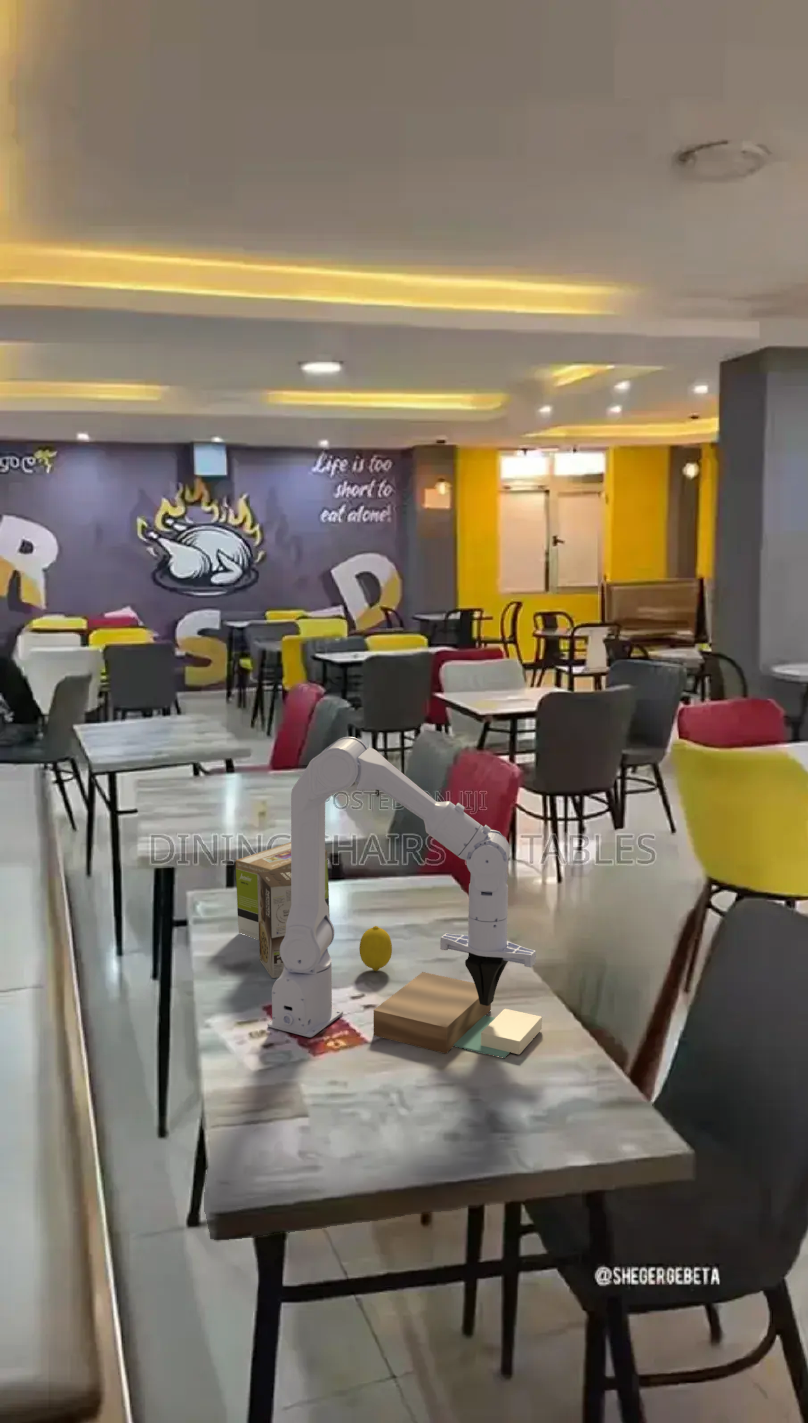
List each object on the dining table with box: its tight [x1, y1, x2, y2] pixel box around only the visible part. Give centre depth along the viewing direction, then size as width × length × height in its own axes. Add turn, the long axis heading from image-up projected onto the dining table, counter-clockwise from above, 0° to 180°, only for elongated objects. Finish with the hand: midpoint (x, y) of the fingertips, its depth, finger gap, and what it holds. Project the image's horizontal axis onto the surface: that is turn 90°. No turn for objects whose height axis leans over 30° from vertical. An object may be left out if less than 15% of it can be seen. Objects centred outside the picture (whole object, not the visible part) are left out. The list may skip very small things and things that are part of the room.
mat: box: [454, 1015, 511, 1059], centre depth 160 cm, size 11×8×1 cm
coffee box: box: [257, 868, 291, 979], centre depth 184 cm, size 9×6×16 cm
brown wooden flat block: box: [373, 971, 492, 1054], centre depth 164 cm, size 16×12×4 cm
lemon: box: [358, 925, 393, 972], centre depth 183 cm, size 6×6×8 cm
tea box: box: [235, 841, 331, 941], centre depth 202 cm, size 15×10×15 cm, turn 141°
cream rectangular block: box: [481, 1008, 543, 1055], centre depth 159 cm, size 9×6×2 cm, turn 152°
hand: (486, 1002), depth 160 cm, fingers closed
